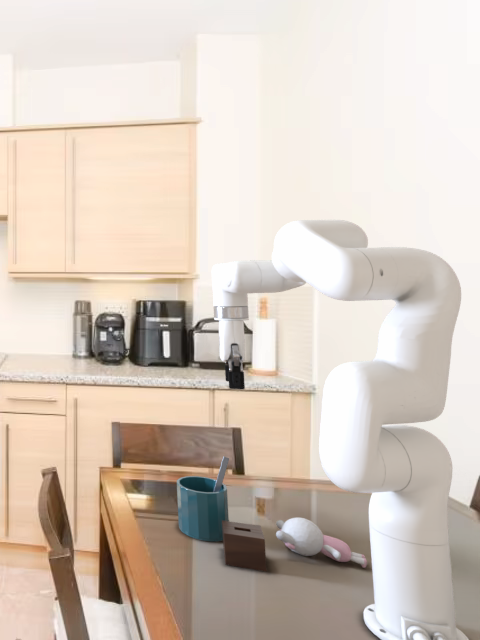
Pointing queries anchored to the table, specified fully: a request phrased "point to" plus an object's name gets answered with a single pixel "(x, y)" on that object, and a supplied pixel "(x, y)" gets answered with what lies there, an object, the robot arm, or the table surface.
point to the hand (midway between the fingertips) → (234, 385)
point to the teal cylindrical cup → (201, 508)
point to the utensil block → (244, 545)
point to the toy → (314, 541)
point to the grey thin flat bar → (221, 474)
